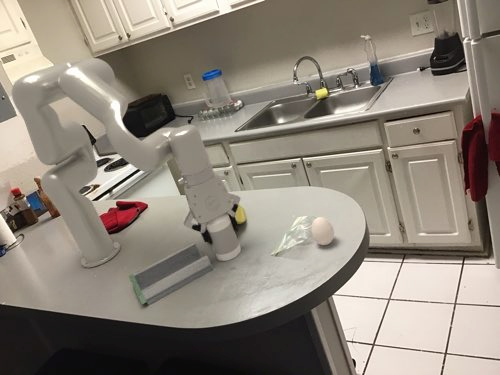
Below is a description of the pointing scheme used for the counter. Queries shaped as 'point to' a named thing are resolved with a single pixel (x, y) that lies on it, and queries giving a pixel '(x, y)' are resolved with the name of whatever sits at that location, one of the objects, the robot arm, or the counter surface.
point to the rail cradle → (170, 274)
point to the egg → (322, 231)
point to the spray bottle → (223, 238)
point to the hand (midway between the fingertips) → (222, 235)
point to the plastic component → (240, 214)
